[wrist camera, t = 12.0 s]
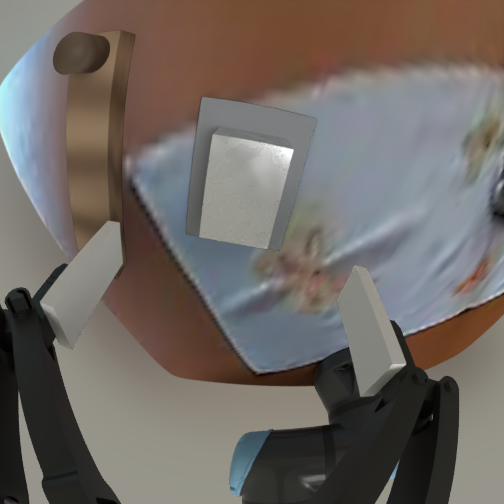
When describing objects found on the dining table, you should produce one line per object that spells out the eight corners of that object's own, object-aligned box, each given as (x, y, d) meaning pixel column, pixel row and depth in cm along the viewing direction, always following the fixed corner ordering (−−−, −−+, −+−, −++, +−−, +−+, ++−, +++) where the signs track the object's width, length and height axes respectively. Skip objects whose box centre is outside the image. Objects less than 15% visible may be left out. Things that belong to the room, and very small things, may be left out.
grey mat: (279, 248, 29) (279, 250, 29) (186, 232, 28) (185, 234, 28) (316, 118, 21) (316, 119, 21) (202, 96, 20) (201, 96, 20)
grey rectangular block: (266, 226, 27) (267, 249, 24) (206, 216, 27) (199, 237, 23) (288, 139, 22) (293, 149, 19) (220, 126, 22) (212, 134, 18)
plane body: (126, 263, 31) (92, 324, 23) (93, 256, 30) (55, 311, 22) (135, 34, 16) (71, 18, 8) (92, 39, 16) (22, 35, 8)
